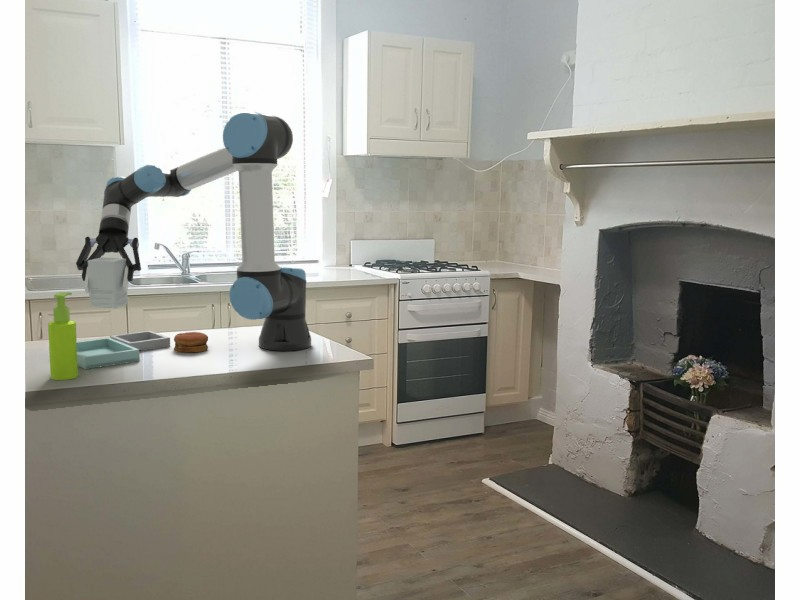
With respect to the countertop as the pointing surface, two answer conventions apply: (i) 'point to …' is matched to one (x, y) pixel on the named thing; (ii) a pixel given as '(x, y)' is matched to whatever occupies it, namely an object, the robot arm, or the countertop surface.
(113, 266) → the supplement box
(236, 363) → the countertop surface
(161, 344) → the holder
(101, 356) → the tray
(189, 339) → the burger
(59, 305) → the soap dispenser
